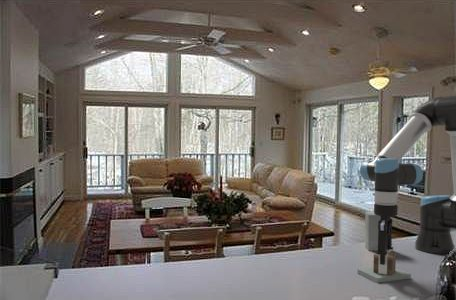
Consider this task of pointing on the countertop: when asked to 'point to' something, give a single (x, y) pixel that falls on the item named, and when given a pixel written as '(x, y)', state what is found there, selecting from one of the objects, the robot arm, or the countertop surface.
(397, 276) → the pale green flat panel
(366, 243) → the skincare box
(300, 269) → the countertop surface
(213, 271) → the countertop surface
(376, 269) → the cardboard shipping box
